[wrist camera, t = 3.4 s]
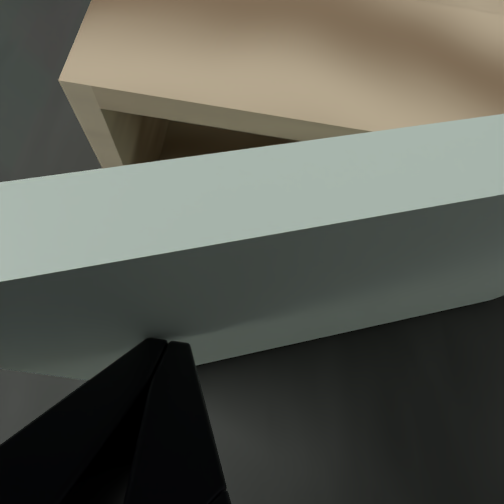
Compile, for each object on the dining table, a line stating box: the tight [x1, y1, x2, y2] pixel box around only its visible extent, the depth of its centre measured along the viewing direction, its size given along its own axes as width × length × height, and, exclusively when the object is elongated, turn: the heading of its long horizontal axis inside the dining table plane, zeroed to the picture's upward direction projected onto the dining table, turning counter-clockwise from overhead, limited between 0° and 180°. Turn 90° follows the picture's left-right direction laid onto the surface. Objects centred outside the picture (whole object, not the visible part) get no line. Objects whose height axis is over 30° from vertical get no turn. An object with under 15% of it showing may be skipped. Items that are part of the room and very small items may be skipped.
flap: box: [0, 114, 504, 380], centre depth 10 cm, size 1×16×12 cm, turn 103°
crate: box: [58, 0, 504, 168], centre depth 14 cm, size 6×16×8 cm, turn 83°
